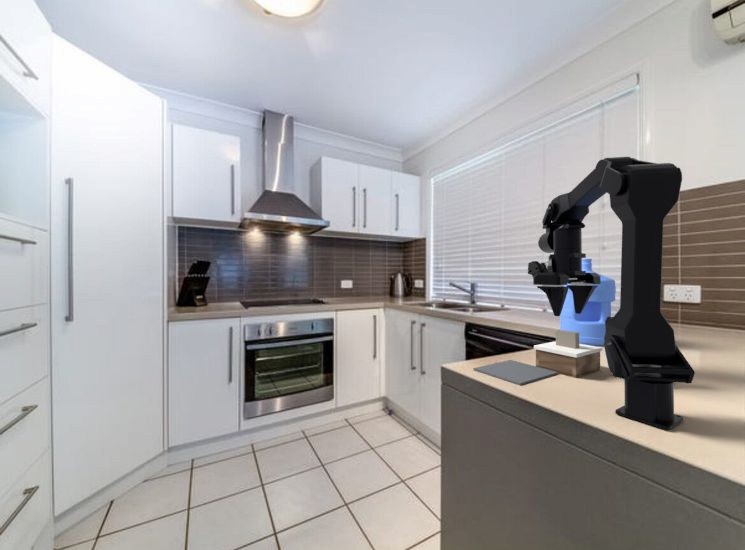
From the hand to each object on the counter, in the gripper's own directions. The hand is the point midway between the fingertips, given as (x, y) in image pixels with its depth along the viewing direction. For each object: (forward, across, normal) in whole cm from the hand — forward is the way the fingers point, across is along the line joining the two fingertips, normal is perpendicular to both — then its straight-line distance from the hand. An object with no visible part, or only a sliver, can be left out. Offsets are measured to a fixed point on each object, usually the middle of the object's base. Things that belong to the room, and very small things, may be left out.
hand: (567, 314), depth 73 cm
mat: (+13, +13, -5) cm, 19 cm away
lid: (+10, 0, 0) cm, 10 cm away
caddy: (+13, 0, 0) cm, 13 cm away
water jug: (+13, -38, -14) cm, 42 cm away
